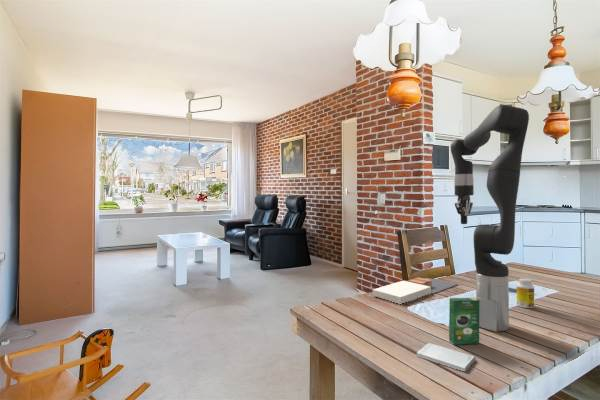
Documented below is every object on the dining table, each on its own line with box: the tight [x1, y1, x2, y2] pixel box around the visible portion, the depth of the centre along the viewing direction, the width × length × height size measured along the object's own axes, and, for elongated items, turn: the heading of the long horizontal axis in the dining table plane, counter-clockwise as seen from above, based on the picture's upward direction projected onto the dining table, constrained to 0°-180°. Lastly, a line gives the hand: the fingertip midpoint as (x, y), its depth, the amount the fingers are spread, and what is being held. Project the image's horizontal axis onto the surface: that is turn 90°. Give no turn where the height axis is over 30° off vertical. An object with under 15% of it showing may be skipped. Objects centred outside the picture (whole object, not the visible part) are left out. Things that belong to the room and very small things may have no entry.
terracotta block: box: [407, 277, 432, 287], centre depth 154 cm, size 8×7×3 cm
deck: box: [372, 280, 432, 305], centre depth 144 cm, size 22×14×3 cm, turn 128°
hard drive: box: [416, 342, 476, 372], centre depth 89 cm, size 2×8×12 cm
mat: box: [424, 277, 459, 295], centre depth 157 cm, size 22×16×1 cm
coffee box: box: [448, 297, 480, 346], centre depth 98 cm, size 8×3×13 cm, turn 93°
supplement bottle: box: [516, 278, 535, 309], centre depth 127 cm, size 6×6×10 cm
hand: (464, 223), depth 147 cm, fingers closed
